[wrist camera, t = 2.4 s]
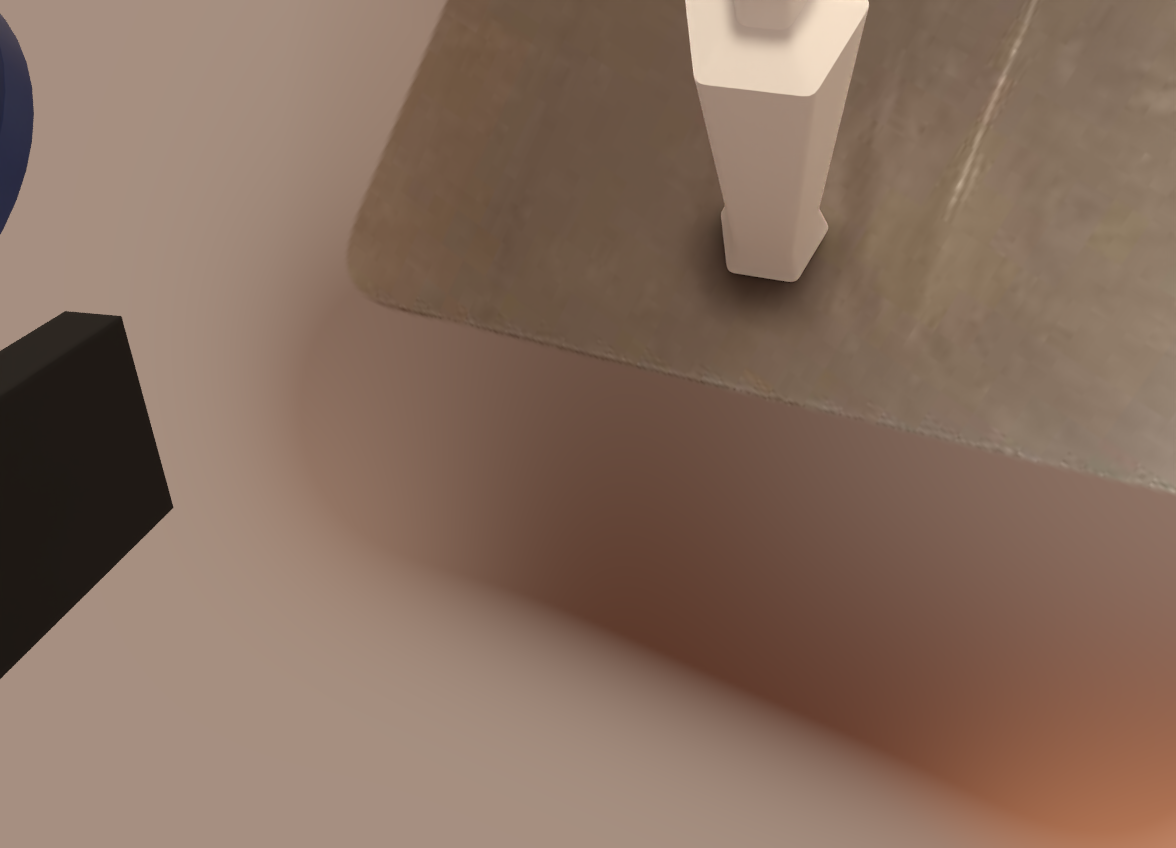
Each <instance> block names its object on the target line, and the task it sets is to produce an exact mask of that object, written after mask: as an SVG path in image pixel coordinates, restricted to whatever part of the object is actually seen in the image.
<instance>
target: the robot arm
mask: <svg viewBox="0 0 1176 848" xmlns="http://www.w3.org/2000/svg"><path fill="white" fill-rule="evenodd" d="M172 508H173V504H172V501H171V497H170V494H169V490H168V486H167V482H166V479H165V475H164V472H163V468H162V464H161V460H160V457H159V453H158V449H157V446H156V442H155V438H154V435H153V431H152V427H151V424H150V420H149V417H148V413H147V409H146V405H145V402H144V399H143V394H142V391H141V387H140V383H139V380H138V376H137V372H136V369H135V365H134V361H133V358H132V354H131V350H130V347H129V343H128V339H127V335H126V332H125V328H124V325H123V321H122V317H121V316H112V315H101V314H90V313H79V312H67V311H65V312H63V313H62V314H60V315H58V316H57V317H55V318H53V319H52V320H50V321H49V322H47V323H45V324H44V325H42V326H40V327H39V328H37V329H35V330H34V331H32V332H31V333H29V334H27V335H26V336H24V337H22V338H21V339H19V340H17V341H16V342H14V343H13V344H11V345H9V346H8V347H6V348H4V349H3V350H1V351H0V679H1V678H2V677H3V676H4V675H5V673H7V672H8V671H9V670H10V669H11V668H12V667H13V666H14V665H15V664H16V663H17V662H18V661H19V660H20V659H21V658H22V657H23V656H24V655H25V654H26V653H27V652H28V651H29V650H30V649H31V648H32V647H33V646H34V645H35V644H36V643H37V642H38V641H39V640H40V639H41V638H42V637H43V636H44V635H45V634H46V633H47V632H48V631H49V630H50V629H51V628H52V627H53V626H54V625H55V624H56V623H57V622H58V621H59V620H60V619H61V618H62V617H63V616H64V615H65V614H66V613H67V612H68V611H69V610H70V609H71V608H72V607H73V606H74V605H75V604H76V603H77V602H78V601H79V600H80V599H81V598H82V597H83V596H84V595H86V594H87V593H88V592H89V591H90V590H91V589H92V588H93V587H94V586H95V585H96V584H97V583H98V582H99V581H100V580H101V579H102V578H103V577H104V576H105V575H106V574H107V573H108V572H109V571H110V570H111V569H112V568H113V567H114V566H115V565H116V564H117V563H118V562H119V561H120V560H121V559H122V558H123V557H124V556H125V555H126V554H127V553H128V552H129V551H130V550H131V549H132V548H133V547H134V546H135V545H136V544H137V543H138V542H139V541H140V540H141V539H142V538H143V537H144V536H145V535H146V534H147V533H148V532H149V531H150V530H151V529H152V528H153V527H154V526H155V525H156V524H157V523H158V522H159V521H160V520H161V519H162V518H163V517H164V516H165V515H166V514H167V513H168V512H169V511H170V510H171V509H172Z"/></svg>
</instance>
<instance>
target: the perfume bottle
mask: <svg viewBox="0 0 1176 848" xmlns="http://www.w3.org/2000/svg"><path fill="white" fill-rule="evenodd" d="M685 2H686V11H687V20H688V29H689V38H690V47H691V56H692V65H693V74H694V78H695V83H696V87H697V91H698V95H699V99H700V104H701V108H702V112H703V116H704V120H705V124H706V129H707V133H708V137H709V141H710V145H711V149H712V154H713V158H714V162H715V166H716V170H717V175H718V179H719V183H720V187H721V191H722V195H723V200H724V204H725V206H724V208H723V210H722V212H721V222H722V231H723V239H724V248H725V257H726V266H727V269H728V270H729V271H730V272H732V273H736V274H742V275H749V276H755V277H761V278H767V279H774V280H780V281H786V282H794V281H796V280H798V278H799V277H800V276H801V274H802V272H803V271H804V269H805V267H806V266H807V264H808V262H809V261H810V259H811V258H812V256H813V254H814V253H815V251H816V249H817V248H818V246H819V244H820V243H821V241H822V239H823V238H824V236H825V234H826V233H827V230H828V224H827V222H826V220H825V218H824V217H823V215H822V213H821V211H820V209H819V207H820V203H821V199H822V195H823V191H824V186H825V182H826V178H827V174H828V170H829V166H830V162H831V158H832V154H833V150H834V146H835V142H836V138H837V134H838V129H839V125H840V121H841V117H842V113H843V109H844V105H845V101H846V97H847V93H848V89H849V85H850V81H851V76H852V72H853V68H854V64H855V60H856V56H857V52H858V48H859V44H860V40H861V36H862V32H863V28H864V24H865V19H866V15H867V11H868V7H869V2H868V0H685Z"/></svg>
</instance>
